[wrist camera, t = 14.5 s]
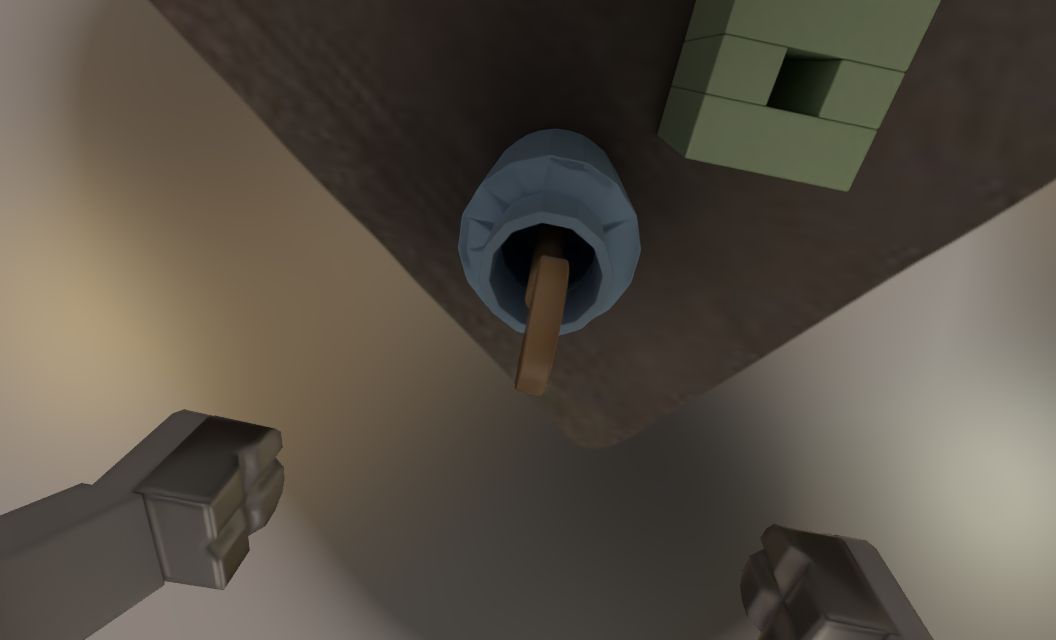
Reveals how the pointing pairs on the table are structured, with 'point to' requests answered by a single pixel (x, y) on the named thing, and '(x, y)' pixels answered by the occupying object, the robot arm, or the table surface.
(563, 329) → the bottle
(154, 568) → the robot arm
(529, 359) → the spoon
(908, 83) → the table surface
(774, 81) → the stand
